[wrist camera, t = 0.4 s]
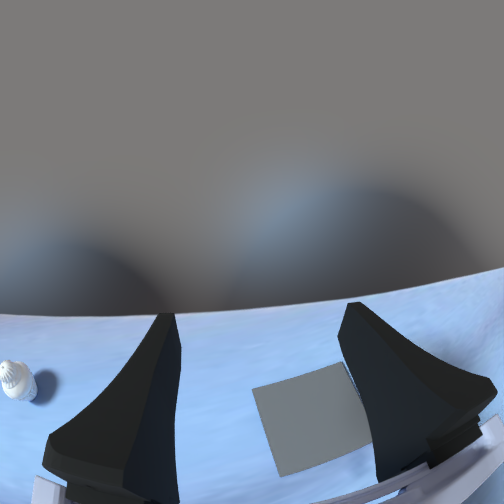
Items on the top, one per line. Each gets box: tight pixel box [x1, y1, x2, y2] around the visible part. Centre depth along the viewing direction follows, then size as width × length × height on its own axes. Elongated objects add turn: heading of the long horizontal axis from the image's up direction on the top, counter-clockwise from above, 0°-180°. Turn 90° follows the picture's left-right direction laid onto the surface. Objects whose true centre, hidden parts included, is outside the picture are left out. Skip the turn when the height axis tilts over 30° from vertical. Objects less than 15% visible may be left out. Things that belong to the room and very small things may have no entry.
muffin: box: [0, 360, 38, 401], centre depth 23 cm, size 6×6×7 cm
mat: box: [252, 362, 372, 477], centre depth 25 cm, size 11×11×1 cm
